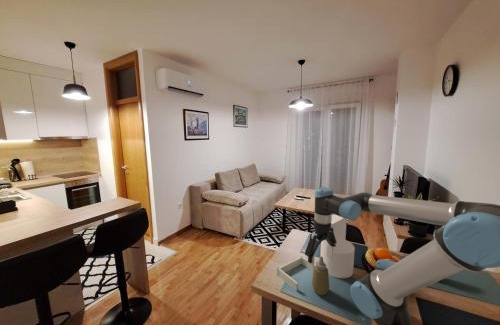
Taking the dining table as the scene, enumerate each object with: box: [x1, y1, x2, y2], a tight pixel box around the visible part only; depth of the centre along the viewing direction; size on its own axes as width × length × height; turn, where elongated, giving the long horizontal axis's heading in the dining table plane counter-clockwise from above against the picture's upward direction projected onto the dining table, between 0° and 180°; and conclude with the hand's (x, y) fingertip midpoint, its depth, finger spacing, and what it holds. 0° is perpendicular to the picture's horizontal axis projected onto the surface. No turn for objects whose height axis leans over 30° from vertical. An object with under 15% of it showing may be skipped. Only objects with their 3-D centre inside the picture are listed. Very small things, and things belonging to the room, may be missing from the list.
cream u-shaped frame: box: [276, 255, 316, 292], centre depth 111 cm, size 14×19×4 cm
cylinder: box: [320, 214, 356, 279], centre depth 115 cm, size 17×17×28 cm
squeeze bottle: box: [311, 255, 330, 296], centre depth 99 cm, size 8×8×18 cm
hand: (320, 263), depth 99 cm, fingers open, 13 cm apart
